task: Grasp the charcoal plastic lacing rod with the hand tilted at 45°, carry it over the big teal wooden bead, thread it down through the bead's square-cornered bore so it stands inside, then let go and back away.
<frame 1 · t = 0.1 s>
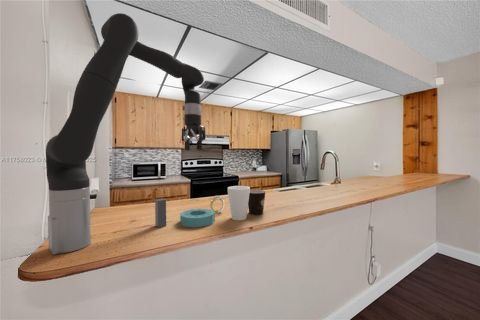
hand: (193, 150, 95), 29 cm above the countertop, tool pointing down, fingers open, 8 cm apart
coffee mug: (258, 213, 95), on the countertop
bracelet: (217, 213, 96), on the countertop
lacing rod: (160, 225, 78), on the countertop
bead: (197, 221, 83), on the countertop
foam cup: (238, 218, 87), on the countertop
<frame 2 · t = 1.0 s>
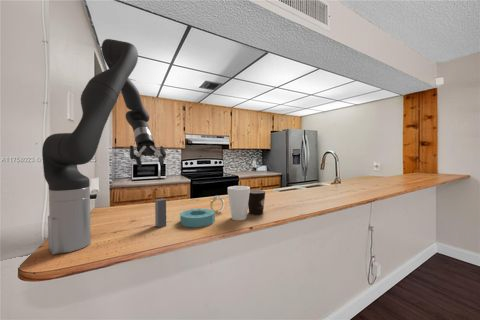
hand: (151, 164, 86), 23 cm above the countertop, tool tilted 45°, fingers open, 8 cm apart
nothing on the countertop moved.
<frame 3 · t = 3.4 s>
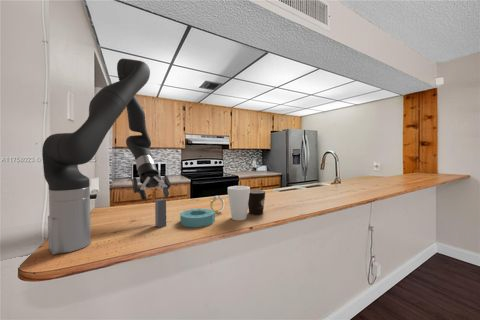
hand: (156, 198, 81), 10 cm above the countertop, tool tilted 45°, fingers open, 8 cm apart
nothing on the countertop moved.
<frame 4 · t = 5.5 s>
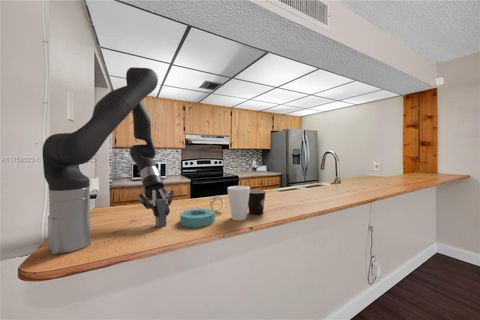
hand: (162, 215, 77), 4 cm above the countertop, tool tilted 45°, fingers closed on lacing rod, 3 cm apart
lacing rod: (160, 225, 78), on the countertop, touching gripper
everything else where it was.
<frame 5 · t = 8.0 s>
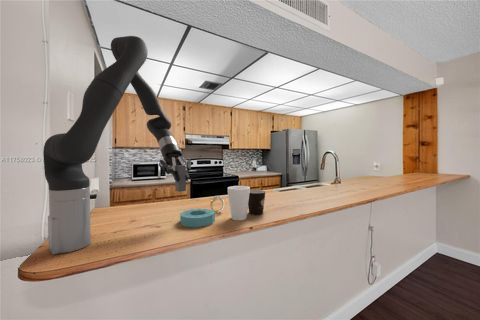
hand: (183, 180, 80), 17 cm above the countertop, tool tilted 45°, fingers closed on lacing rod, 3 cm apart
lacing rod: (180, 190, 81), point 13 cm above the countertop, touching gripper
everything else where it was.
when the fingers open (6 cm above the countertop, at t = 10.3 s): lacing rod drops 2 cm, resting in bead.
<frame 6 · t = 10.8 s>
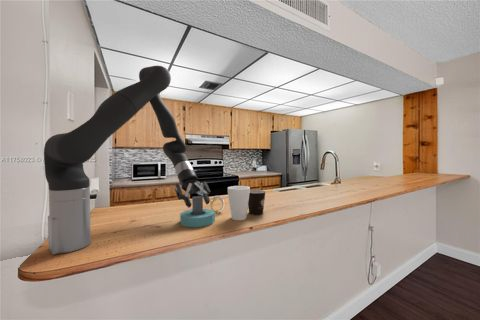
hand: (199, 204, 82), 7 cm above the countertop, tool tilted 45°, fingers open, 7 cm apart
lacing rod: (197, 221, 83), resting in bead
everything else where it was.
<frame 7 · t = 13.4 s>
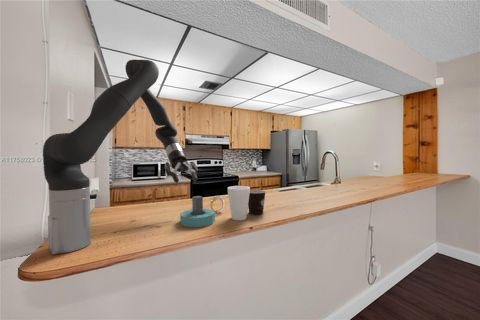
hand: (186, 181, 90), 16 cm above the countertop, tool tilted 45°, fingers open, 8 cm apart
nothing on the countertop moved.
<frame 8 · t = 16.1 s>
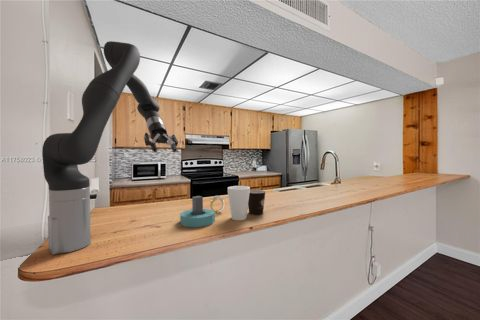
hand: (165, 151, 91), 29 cm above the countertop, tool tilted 45°, fingers open, 8 cm apart
nothing on the countertop moved.
at the end: lacing rod 0.1 cm off-centre on the bead, point 0.0 cm above the bead's base; lacing rod tilted 0°; the gripper is holding nothing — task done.
